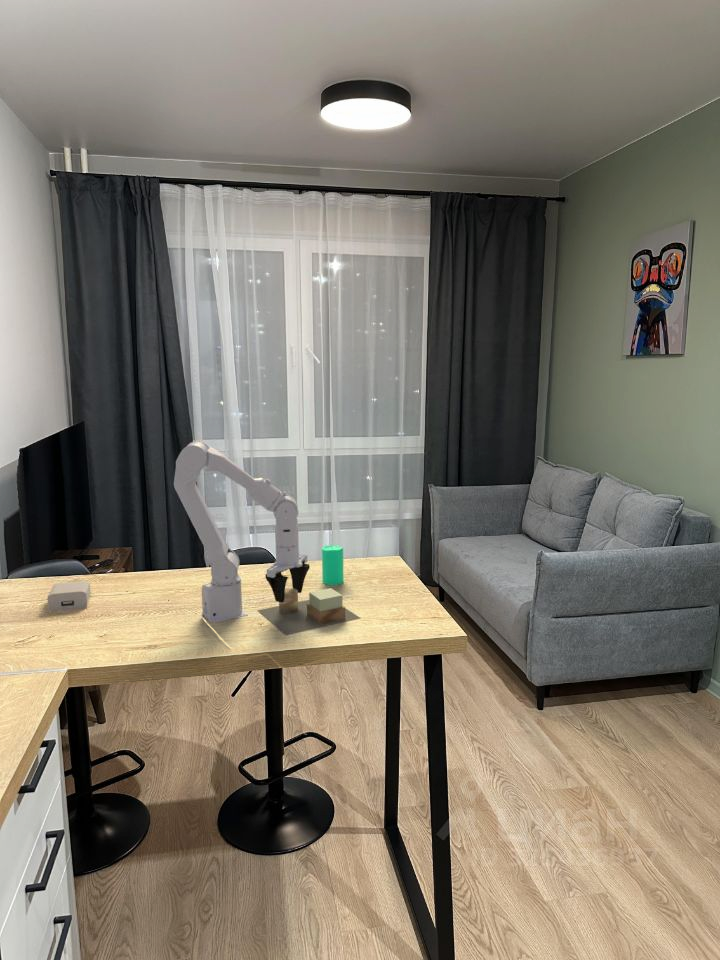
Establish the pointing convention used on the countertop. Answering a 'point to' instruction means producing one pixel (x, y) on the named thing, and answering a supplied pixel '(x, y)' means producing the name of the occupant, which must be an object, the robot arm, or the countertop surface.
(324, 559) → the candle
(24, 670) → the countertop surface
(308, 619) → the mat
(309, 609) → the tower base
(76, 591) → the charger
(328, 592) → the tower top
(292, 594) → the tan rounded cylinder
